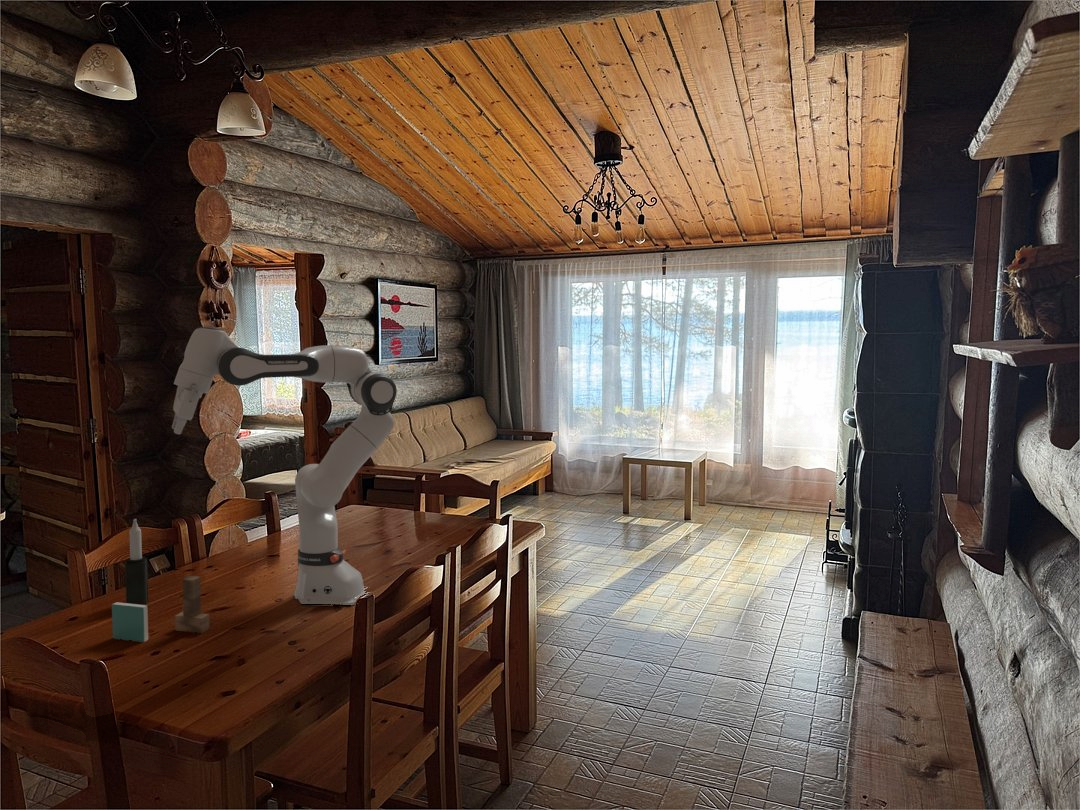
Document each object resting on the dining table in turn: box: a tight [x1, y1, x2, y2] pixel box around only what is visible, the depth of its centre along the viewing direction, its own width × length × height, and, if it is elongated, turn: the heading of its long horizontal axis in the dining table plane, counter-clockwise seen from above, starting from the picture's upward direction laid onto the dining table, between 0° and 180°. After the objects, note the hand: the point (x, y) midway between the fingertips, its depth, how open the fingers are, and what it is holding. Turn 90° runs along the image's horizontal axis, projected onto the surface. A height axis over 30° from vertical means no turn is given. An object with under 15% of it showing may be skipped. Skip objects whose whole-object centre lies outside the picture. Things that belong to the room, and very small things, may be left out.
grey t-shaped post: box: [174, 575, 211, 634], centre depth 188 cm, size 8×3×14 cm, turn 79°
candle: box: [124, 518, 149, 605], centre depth 204 cm, size 5×5×25 cm
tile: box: [111, 601, 149, 643], centre depth 181 cm, size 9×2×9 cm, turn 79°
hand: (175, 431), depth 193 cm, fingers open, 8 cm apart
